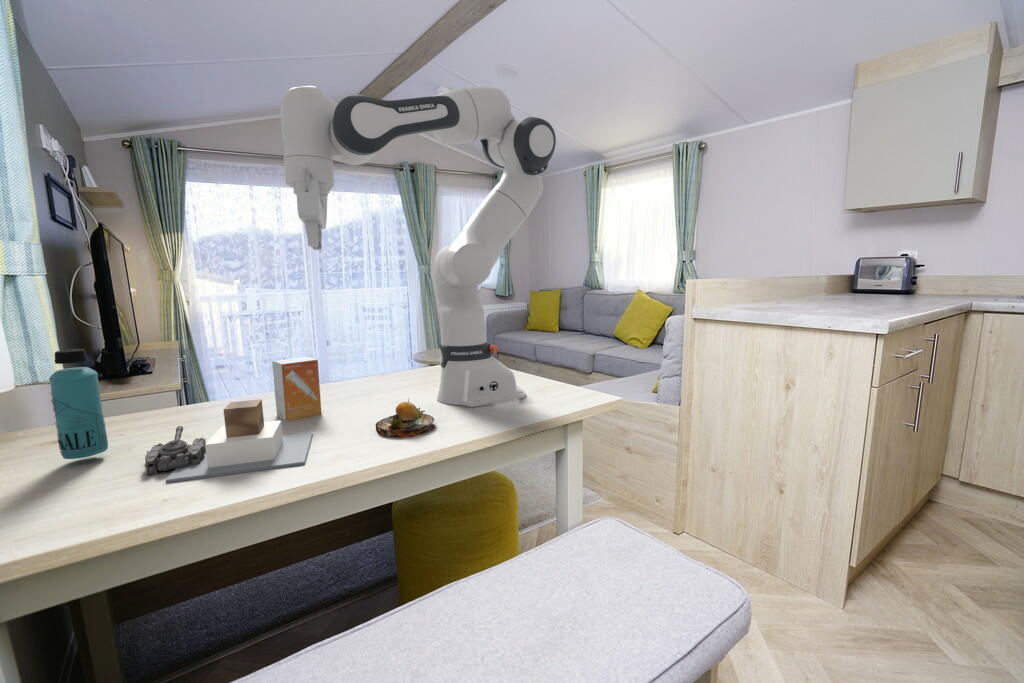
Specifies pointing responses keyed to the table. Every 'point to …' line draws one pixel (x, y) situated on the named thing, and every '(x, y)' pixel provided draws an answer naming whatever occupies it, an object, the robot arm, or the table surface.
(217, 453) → the white plinth
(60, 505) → the table surface
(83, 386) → the beverage bottle
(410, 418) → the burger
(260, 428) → the walnut block
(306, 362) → the small box
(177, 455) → the tank toy
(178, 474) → the plain slate board
